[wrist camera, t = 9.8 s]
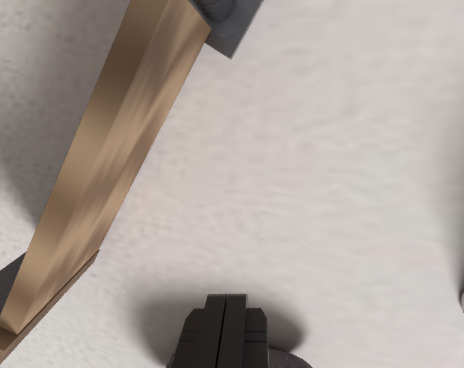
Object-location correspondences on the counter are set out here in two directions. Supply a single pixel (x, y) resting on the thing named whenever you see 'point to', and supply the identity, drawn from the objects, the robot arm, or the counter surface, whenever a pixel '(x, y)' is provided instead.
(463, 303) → the energy drink
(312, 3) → the counter surface
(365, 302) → the counter surface
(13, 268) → the post
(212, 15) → the hinge post
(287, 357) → the perforated stone tool
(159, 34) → the gate
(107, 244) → the counter surface
